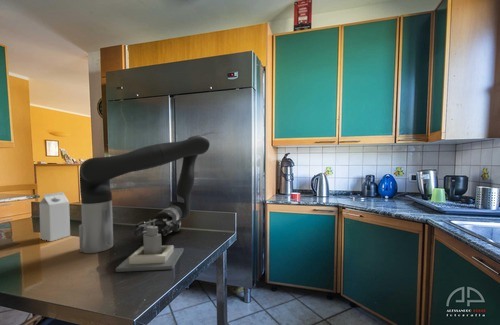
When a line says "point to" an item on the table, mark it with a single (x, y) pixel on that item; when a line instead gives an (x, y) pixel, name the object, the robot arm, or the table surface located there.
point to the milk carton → (54, 217)
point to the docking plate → (151, 260)
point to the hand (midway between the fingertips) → (150, 233)
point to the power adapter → (152, 241)
